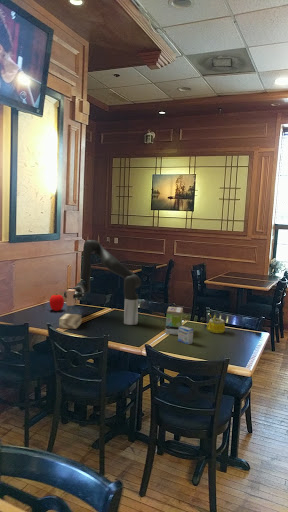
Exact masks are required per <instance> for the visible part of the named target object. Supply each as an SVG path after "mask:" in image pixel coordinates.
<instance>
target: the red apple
mask: <svg viewBox="0 0 288 512" xmlns="http://www.w3.org/2000/svg"><path fill="white" fill-rule="evenodd" d="M48 302H49V306H50V309H51V310H52V311H55V312H58V311H61V310H62V309H63V308H64V304H65V300H64V296H62V295H61V294H58V293H56V294H53V295H52V294H51V296H50V298H49V301H48Z"/></svg>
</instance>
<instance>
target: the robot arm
mask: <svg viewBox="0 0 288 512" xmlns="http://www.w3.org/2000/svg"><path fill="white" fill-rule="evenodd" d="M82 250H83V251H82V267H81V268H82V269H81V272H80V280H82V281H83V282H81V281H78V282H77V284H76V286H74V287H72V288H71V289H75V290H76V294H74V295H73V298H75V299H79V298H82V297H85V294H90V292H91V276H92V264H91V256H92V253H93V254H95V255H96V256H98V257H99V258H100V259H101V262H102V264H103V265H104V267H106V269H108V270H109V271H110V272H112V273H113V274H115V275H118V276H120V277H121V278H123V279H124V281H123V295H124V308H123V310H124V311H123V324H124V325H128V326H133V325H134V326H135V325H138V321H139V320H138V319H139V318H138V317H139V309H138V308H139V294H137V293H136V289H138V288H140V286H141V285H142V281H141V278H140V277H139V276H138V275H137V274H136V273H134V272H133V271H131V270H130V269H128V268H127V267H126V266H125V265H124V264H123V263H122V262H121V261H119V260H118V259H117V258H116V257H115V256H114V255H113V254H111V253H110V252H109V251H108V250H107V249H105V248H104V246H103V245H102V244H100V242H99V241H97V240H94V239H88V240H86V241H84V244H83V249H82ZM63 298H65V299H67V290H66V291H63Z"/></svg>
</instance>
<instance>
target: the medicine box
mask: <svg viewBox="0 0 288 512" xmlns="http://www.w3.org/2000/svg"><path fill="white" fill-rule="evenodd" d="M193 338H194V328H190V327H187V326H184V325H182V326H181V327H179V332H178V336H177V341H178V342H179V343H182V344H186V345H191V344H193V340H194V339H193Z"/></svg>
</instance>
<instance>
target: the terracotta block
mask: <svg viewBox="0 0 288 512" xmlns="http://www.w3.org/2000/svg"><path fill="white" fill-rule="evenodd" d="M66 292H67V298H66V306H71V307H74V306H75V305H76V298H73V295H74V294H76V290H75V289H72V288H69V289H67V290H66Z"/></svg>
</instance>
